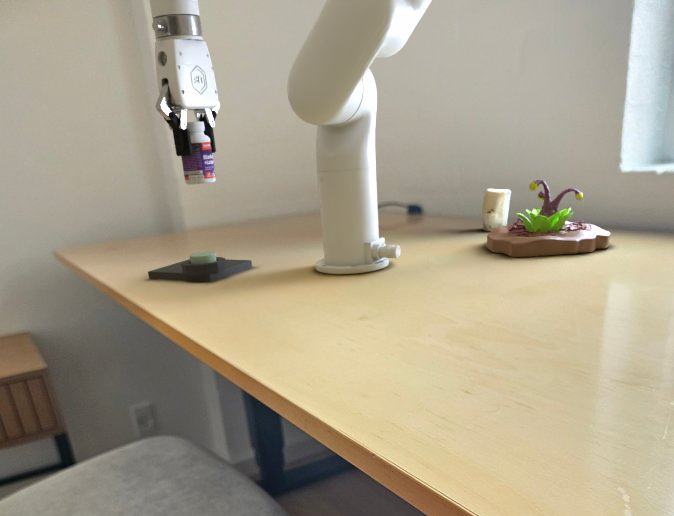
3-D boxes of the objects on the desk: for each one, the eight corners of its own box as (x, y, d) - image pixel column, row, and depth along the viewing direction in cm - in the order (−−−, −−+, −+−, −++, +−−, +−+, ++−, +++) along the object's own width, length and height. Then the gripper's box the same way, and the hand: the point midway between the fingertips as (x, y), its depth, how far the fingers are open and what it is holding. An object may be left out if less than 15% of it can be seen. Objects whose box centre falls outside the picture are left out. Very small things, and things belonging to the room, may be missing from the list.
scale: (255, 267, 119) (253, 250, 117) (209, 284, 109) (206, 265, 107) (193, 265, 126) (190, 249, 124) (144, 281, 115) (141, 263, 114)
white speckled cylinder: (509, 227, 139) (510, 186, 136) (510, 231, 135) (511, 189, 131) (481, 228, 140) (482, 188, 137) (481, 232, 136) (482, 191, 132)
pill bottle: (212, 183, 114) (203, 120, 109) (182, 185, 114) (172, 123, 110) (219, 180, 118) (210, 120, 114) (189, 183, 119) (180, 123, 115)
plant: (473, 242, 125) (474, 179, 120) (571, 233, 127) (576, 170, 122) (508, 261, 108) (511, 188, 103) (623, 250, 109) (631, 177, 104)
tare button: (222, 260, 113) (220, 251, 112) (205, 266, 109) (204, 256, 109) (202, 260, 115) (200, 251, 114) (185, 265, 111) (184, 256, 111)
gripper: (158, 24, 98) (179, 157, 106) (229, 32, 111) (243, 150, 119) (122, 31, 101) (145, 159, 109) (195, 38, 114) (211, 151, 122)
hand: (196, 153), depth 114 cm, fingers closed on pill bottle, 5 cm apart
